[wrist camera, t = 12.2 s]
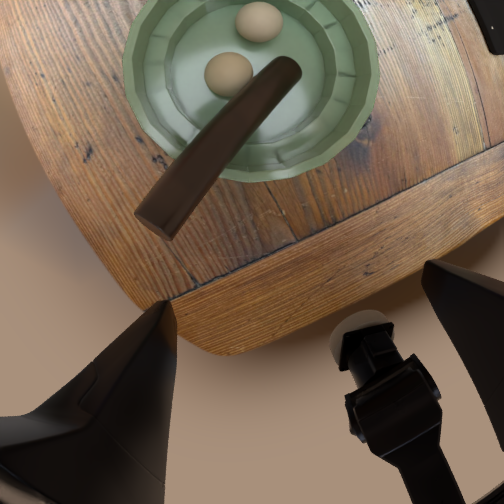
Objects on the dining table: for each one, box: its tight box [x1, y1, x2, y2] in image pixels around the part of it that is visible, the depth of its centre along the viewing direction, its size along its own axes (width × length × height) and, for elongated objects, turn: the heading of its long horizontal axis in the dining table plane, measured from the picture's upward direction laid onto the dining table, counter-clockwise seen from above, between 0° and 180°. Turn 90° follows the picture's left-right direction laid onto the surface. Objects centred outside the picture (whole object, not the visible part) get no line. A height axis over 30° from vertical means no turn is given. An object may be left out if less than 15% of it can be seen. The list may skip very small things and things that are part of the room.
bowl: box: [122, 0, 380, 183], centre depth 15 cm, size 14×14×5 cm
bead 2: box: [235, 2, 283, 42], centre depth 14 cm, size 3×3×3 cm
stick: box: [134, 56, 302, 241], centre depth 14 cm, size 2×2×13 cm
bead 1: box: [204, 52, 253, 97], centre depth 15 cm, size 3×3×3 cm
